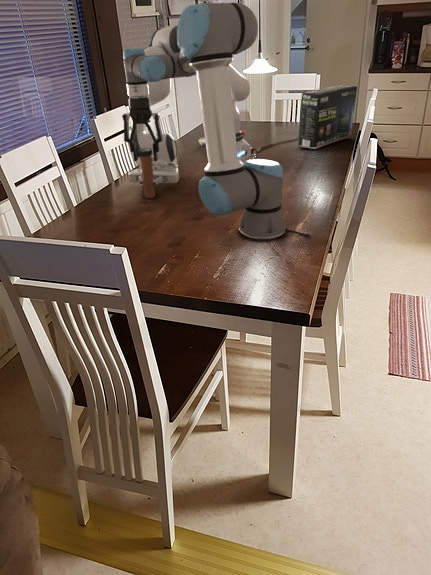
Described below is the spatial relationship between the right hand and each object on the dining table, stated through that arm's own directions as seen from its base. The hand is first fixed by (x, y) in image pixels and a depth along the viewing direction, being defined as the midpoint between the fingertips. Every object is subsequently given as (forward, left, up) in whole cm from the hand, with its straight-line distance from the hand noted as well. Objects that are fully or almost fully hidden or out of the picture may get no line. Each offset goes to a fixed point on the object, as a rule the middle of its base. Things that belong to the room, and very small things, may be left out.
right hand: (146, 160), depth 176 cm
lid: (0, 0, +4) cm, 4 cm away
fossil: (+17, -81, -14) cm, 84 cm away
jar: (0, 0, -14) cm, 14 cm away
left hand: (0, +1, -8) cm, 8 cm away
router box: (-36, -106, -14) cm, 113 cm away
